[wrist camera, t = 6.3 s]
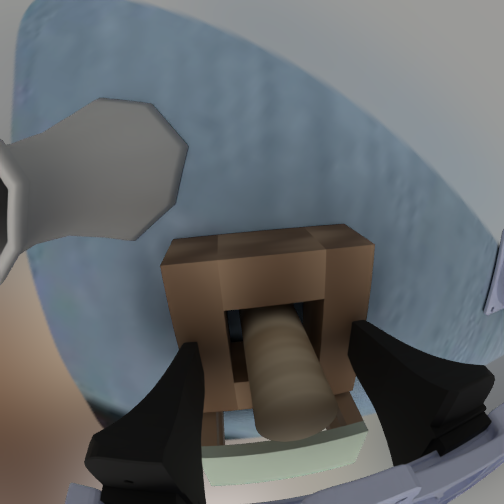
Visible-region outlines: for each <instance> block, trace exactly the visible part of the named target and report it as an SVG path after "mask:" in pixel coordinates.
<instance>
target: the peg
mask: <svg viewBox="0 0 504 504" xmlns="http://www.w3.org/2000/svg"><path fill="white" fill-rule="evenodd" d="M239 313H240V321H241V328H242V336H243V343H244V350H245V358H246V365H247V372H248V379H249V386H250V393H251V399H252V406H253V413H254V419H255V426H256V430H257V431H258V433H259V434H260V435H261V436H263V437H264V438H267V439H269V440H273V441H279V442H289V441H297V440H301V439H305V438H308V437H310V436H313V435H315V434H317V433H319V432H321V431H322V430H324V429H325V428H326V427H328V426H329V425H330V424H331V423H332V422H333V420H334V419H335V417H336V416H337V413H338V403H337V401H336V398H335V396H334V394H333V392H332V389H331V387H330V385H329V383H328V380H327V378H326V376H325V374H324V371H323V369H322V367H321V365H320V363H319V360H318V358H317V356H316V354H315V351H314V349H313V347H312V345H311V343H310V340H309V338H308V336H307V334H306V332H305V329H304V327H303V325H302V323H301V321H300V318H299V316H298V314H297V312H296V310H295V307H294V305H293V303H290V304H282V305H273V306H265V307H256V308H247V309H239Z"/></svg>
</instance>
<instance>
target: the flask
mask: <svg viewBox="0 0 504 504" xmlns="http://www.w3.org/2000/svg"><path fill="white" fill-rule="evenodd" d="M187 149H188V145H187V144H186V143H185V142H184V140H183V139H182V138H181V137H180V136H179V135H178V133H177V132H176V131H175V130H174V129H173V128H172V127H171V125H170V124H169V123H168V122H167V121H166V120H165V118H164V117H163V116H162V115H161V114H160V113H159V112H158V110H157V109H156V108H155V107H154V106H153V105H152V104H150V103H143V102H136V101H128V100H119V99H109V98H98V99H96V100H94V101H93V102H91V103H89V104H88V105H86V106H85V107H83V108H82V109H80V110H79V111H77V112H76V113H74V114H72V115H71V116H69V117H67V118H65V119H64V120H62V121H60V122H59V123H57V124H56V125H54V126H52V127H51V128H49V129H48V130H46V131H45V132H43V133H40V134H37V135H34V136H31V137H29V138H26V139H23V140H20V141H18V142H15V143H12V144H8V145H6V144H5V143H4V141H3V140H1V139H0V285H1V284H2V283H3V282H4V280H5V279H6V277H7V275H8V273H9V272H10V270H11V268H12V267H13V265H14V263H15V261H16V260H17V258H18V256H19V255H20V254H21V253H23V252H24V251H26V250H27V249H29V248H31V247H32V246H34V245H36V244H39V243H42V242H46V241H50V240H54V239H58V238H62V237H66V236H85V237H105V238H113V239H121V240H129V241H136V240H137V239H138V238H139V237H140V236H141V235H142V234H143V233H144V232H145V231H146V230H147V229H148V228H149V227H150V226H151V225H153V224H154V223H155V222H156V221H157V220H158V219H159V218H160V217H161V216H162V215H163V214H165V213H166V212H167V211H168V210H169V209H170V208H171V207H172V206H174V205H175V203H176V198H177V193H178V188H179V184H180V179H181V175H182V170H183V166H184V162H185V158H186V154H187Z"/></svg>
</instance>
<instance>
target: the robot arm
mask: <svg viewBox="0 0 504 504" xmlns="http://www.w3.org/2000/svg"><path fill="white" fill-rule="evenodd" d="M503 308H504V229H503V231H502V236H501V242H500V248H499V253H498V258H497V263H496V267H495V272H494V276H493V280H492V284H491V288H490V291H489V295H488V298H487V302H486V305H485V308H484V313H485V314H486V315H489V314H492V313H494V312H496V311H499V310H501V309H503ZM347 355H348V358H349V360H350V363H351V365H352V368H353V370H354V372H355V374H356V376H357V378H358V380H359V381H360V383H361V385H362V387H363V388H364V390H365V392H366V394H367V395H368V397H369V399H370V401H371V402H372V404H373V406H374V408H375V410H376V413H377V415H378V418H379V420H380V423H381V425H382V428H383V431H384V434H385V437H386V440H387V443H388V447H389V450H390V454H391V457H392V461H393V466H394V467H392V468H389V469H387V470H384V471H381V472H378V473H376V474H373V475H370V476H367V477H364V478H361V479H358V480H354V481H351V482H348V483H344V484H340V485H337V486H333V487H330V488H327V489H324V490H321V491H318V492H316V493H313V494H310V495H305V496H300V497H295V498H289V499H283V500H277V501H270V502H261V503H252V504H447V503H448V502H450V501H451V500H453V499H455V498H456V497H458V496H459V495H461V494H462V493H464V492H465V491H467V490H468V489H470V488H471V487H472V486H474V485H475V484H476V483H478V482H479V481H480V480H482V479H483V478H485V477H486V476H487V475H488V474H490V473H491V472H492V471H493V470H495V469H496V468H497V467H499V466H500V465H501V464H502V463H504V403H502V404H501V405H499V406H498V407H497V408H495V409H494V410H492V411H491V412H490V413H489V414H488V415H486V414H485V412H484V411H485V410H486V406H485V405H484V404H483V403H484V401H485V399H486V398H487V396H488V394H489V393H490V391H491V389H492V387H493V385H494V381H495V378H494V375H493V374H492V373H491V372H490V371H489V370H488V369H487V368H486V366H484V365H474V364H465V363H459V362H454V361H450V360H446V359H442V358H439V357H436V356H433V355H430V354H427V353H425V352H422V351H420V350H417V349H415V348H413V347H411V346H409V345H407V344H405V343H403V342H401V341H399V340H398V339H396V338H394V337H392V336H391V335H389V334H387V333H386V332H384V331H382V330H381V329H379V328H377V327H376V326H374V325H372V324H371V323H369V322H367V321H365V320H358V321H353V322H352V326H351V333H350V340H349V347H348V353H347ZM204 398H205V377H204V370H203V366H202V362H201V357H200V353H199V348H198V343H197V342H185V343H183V344H182V346H181V347H180V349H179V351H178V353H177V355H176V356H175V358H174V360H173V361H172V363H171V364H170V366H169V367H168V369H167V370H166V372H165V373H164V375H163V376H162V377H161V379H160V380H159V381H158V383H157V384H156V385H155V387H154V388H153V389H152V390H151V391H150V392H149V394H148V395H147V396H146V397H145V398H144V399H143V400H142V401H141V402H140V403H139V404H138V405H137V406H135V407H134V408H133V409H132V410H131V411H130V412H129V413H127V414H126V415H125V416H123V417H122V418H121V419H119V420H118V421H116V422H115V423H113V424H112V425H110V426H108V427H107V428H105V429H103V430H101V431H100V432H98V433H96V434H94V435H93V437H92V439H91V441H90V444H89V447H88V451H87V454H86V457H85V461H84V463H85V466H86V468H87V469H88V470H89V471H90V472H91V473H92V475H93V476H94V477H95V478H96V479H97V480H99V481H100V482H101V483H102V484H103V488H102V491H100V490H98V489H96V488H92V487H88V486H84V485H79V484H75V483H70V485H69V489H68V493H67V497H66V501H65V504H206V499H205V490H204V480H203V467H202V448H201V431H202V420H203V409H204Z"/></svg>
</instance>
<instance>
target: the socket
mask: <svg viewBox="0 0 504 504" xmlns="http://www.w3.org/2000/svg"><path fill="white" fill-rule="evenodd" d="M374 249H375V244H373V243H372V242H370V241H369V240H368V239H366V238H365V237H363V236H362V235H360V234H359V233H357V232H356V231H354V230H353V229H351V228H350V227H348V226H347V225H345V224H336V225H323V226H311V227H299V228H287V229H275V230H264V231H253V232H242V233H231V234H221V235H211V236H201V237H191V238H181V239H173V240H172V242H171V245H170V247H169V249H168V251H167V253H166V255H165V257H164V259H163V261H162V263H161V265H160V267H161V273H162V278H163V283H164V287H165V292H166V297H167V302H168V306H169V311H170V315H171V319H172V323H173V328H174V332H175V336H176V340H177V344H178V348H179V349H180V347H181V346H182V344H183V343H185V342H197V343H198V348H199V353H200V357H201V362H202V366H203V370H204V377H205V398H204V409H203V413H204V412H220V411H233V410H243V409H252V408H253V406H252V399H251V393H250V386H249V379H248V372H247V365H246V358H245V350H244V343H243V341H240V342H231V341H230V333H229V326H228V318H227V310H237V309H247V308H256V307H265V306H273V305H282V304H290V303H297V302H303V327H304V329H305V332H306V334H307V336H308V338H309V340H310V343H311V345H312V347H313V349H314V351H315V354H316V356H317V358H318V360H319V363H320V365H321V367H322V369H323V371H324V374H325V376H326V378H327V380H328V383H329V385H330V387H331V389H332V392H333V394H334V395H335V394H340V393H344V392H348V391H352V390H353V386H354V382H355V377H356V374H355V372H354V370H353V368H352V365H351V363H350V360H349V358H348V355H347V353H348V347H349V340H350V333H351V326H352V322H353V321H358V320H365V321H366V318H367V311H368V304H369V297H370V289H371V280H372V271H373V261H374Z"/></svg>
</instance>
